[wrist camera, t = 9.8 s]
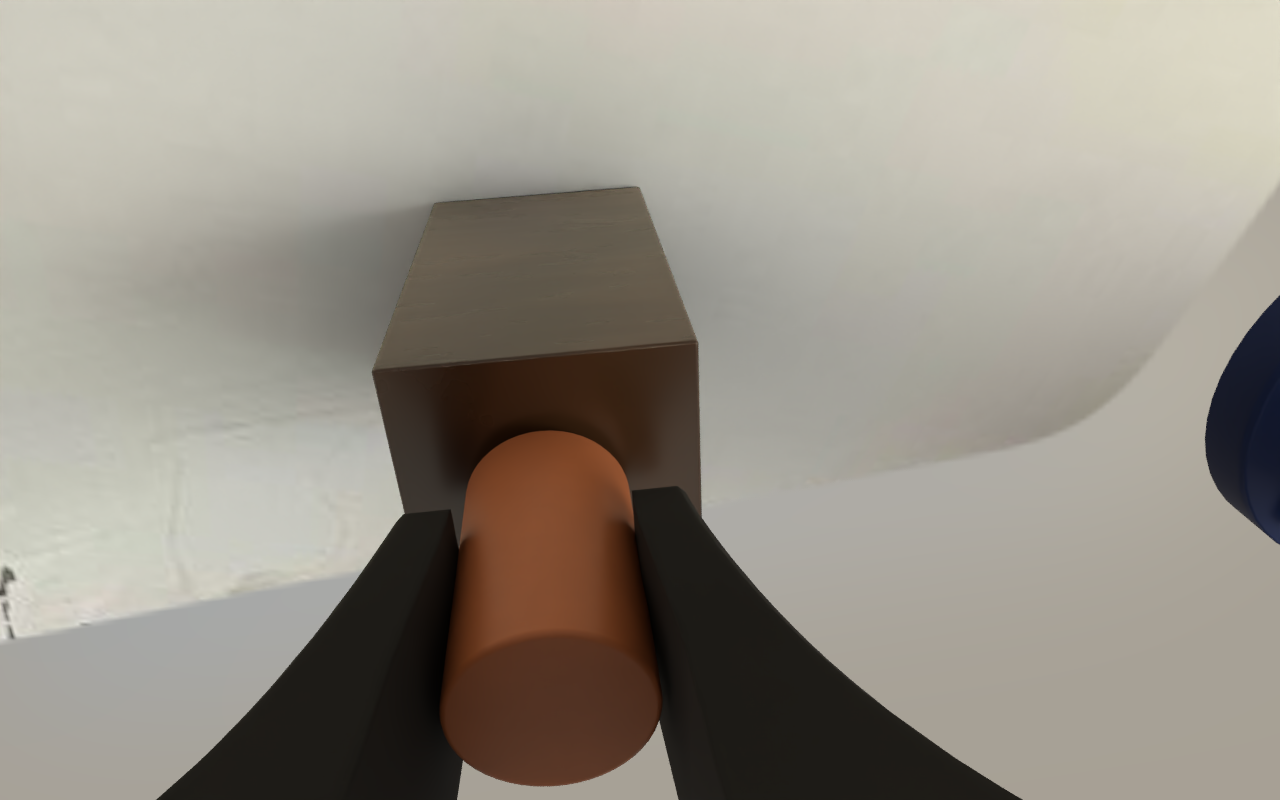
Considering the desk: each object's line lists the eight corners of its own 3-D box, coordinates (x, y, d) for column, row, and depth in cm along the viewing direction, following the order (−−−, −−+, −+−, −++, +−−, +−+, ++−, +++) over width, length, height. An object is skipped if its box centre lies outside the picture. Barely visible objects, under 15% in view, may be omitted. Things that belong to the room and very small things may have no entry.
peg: (623, 420, 12) (658, 621, 9) (633, 552, 13) (667, 775, 10) (453, 437, 12) (419, 648, 8) (478, 568, 13) (457, 801, 10)
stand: (640, 186, 19) (698, 340, 12) (648, 367, 21) (703, 587, 14) (433, 202, 18) (370, 371, 12) (465, 384, 21) (427, 617, 14)
